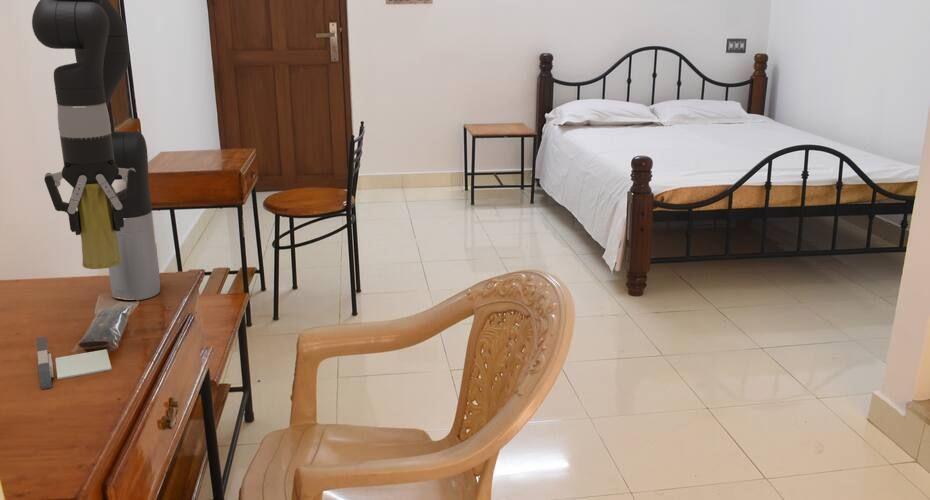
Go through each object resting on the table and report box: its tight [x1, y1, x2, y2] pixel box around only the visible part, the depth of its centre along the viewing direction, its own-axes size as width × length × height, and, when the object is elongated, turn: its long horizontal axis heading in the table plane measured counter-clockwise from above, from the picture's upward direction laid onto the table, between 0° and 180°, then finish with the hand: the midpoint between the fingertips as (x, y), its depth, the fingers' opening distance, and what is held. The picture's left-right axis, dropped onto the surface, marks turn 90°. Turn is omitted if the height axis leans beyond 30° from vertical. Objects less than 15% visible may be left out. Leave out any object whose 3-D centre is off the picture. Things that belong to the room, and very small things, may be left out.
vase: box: [76, 183, 122, 270], centre depth 134 cm, size 6×6×14 cm
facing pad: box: [55, 348, 113, 380], centre depth 133 cm, size 8×8×1 cm
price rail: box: [35, 336, 55, 390], centre depth 131 cm, size 14×2×3 cm, turn 28°
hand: (98, 231), depth 134 cm, fingers closed on vase, 5 cm apart
